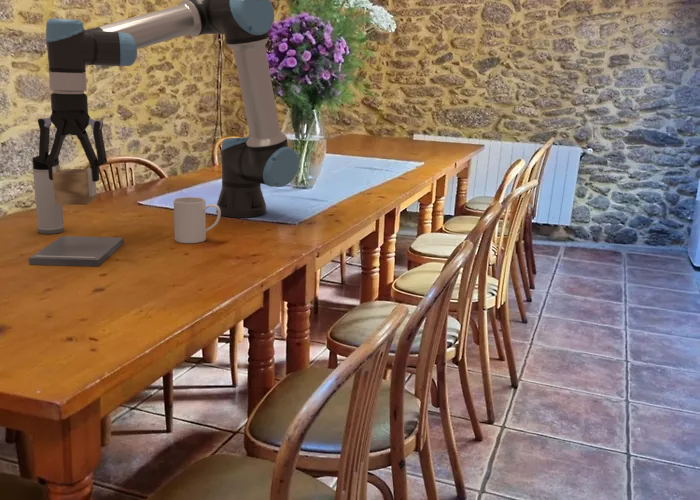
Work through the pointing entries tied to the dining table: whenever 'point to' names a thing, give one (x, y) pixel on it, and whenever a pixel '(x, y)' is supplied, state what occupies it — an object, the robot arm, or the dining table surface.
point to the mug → (191, 219)
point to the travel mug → (46, 200)
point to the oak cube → (72, 187)
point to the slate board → (77, 251)
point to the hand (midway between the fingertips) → (75, 194)
